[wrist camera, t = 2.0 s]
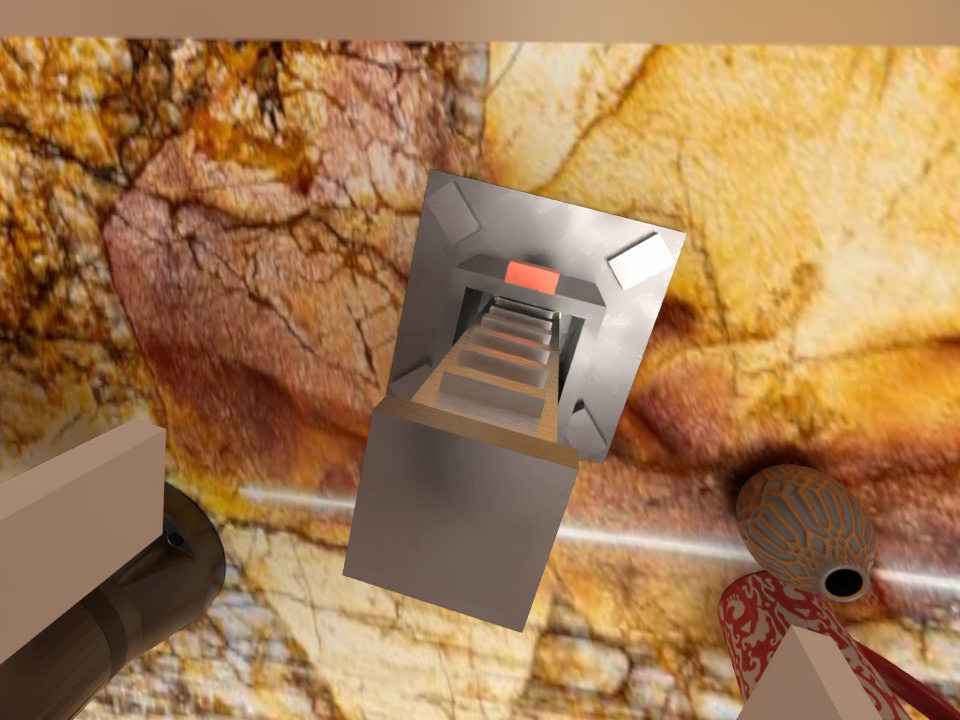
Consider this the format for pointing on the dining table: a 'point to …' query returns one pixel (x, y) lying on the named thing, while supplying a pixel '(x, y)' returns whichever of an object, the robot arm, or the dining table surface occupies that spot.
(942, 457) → the dining table surface
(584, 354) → the stand base
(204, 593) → the robot arm
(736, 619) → the mug
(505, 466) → the column
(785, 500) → the vase
